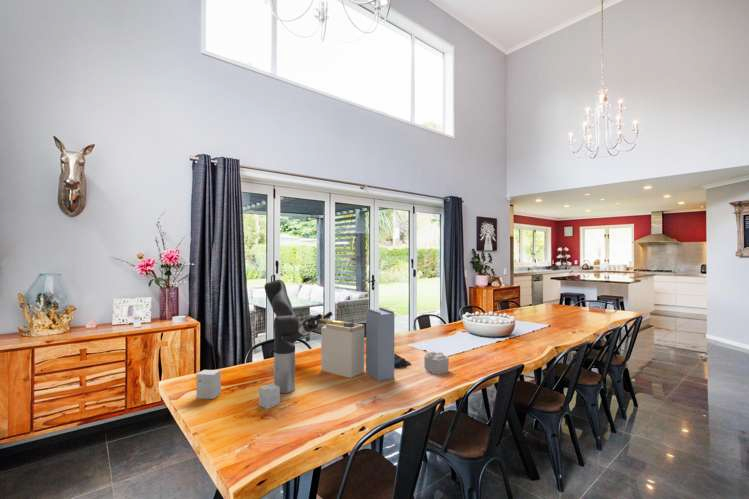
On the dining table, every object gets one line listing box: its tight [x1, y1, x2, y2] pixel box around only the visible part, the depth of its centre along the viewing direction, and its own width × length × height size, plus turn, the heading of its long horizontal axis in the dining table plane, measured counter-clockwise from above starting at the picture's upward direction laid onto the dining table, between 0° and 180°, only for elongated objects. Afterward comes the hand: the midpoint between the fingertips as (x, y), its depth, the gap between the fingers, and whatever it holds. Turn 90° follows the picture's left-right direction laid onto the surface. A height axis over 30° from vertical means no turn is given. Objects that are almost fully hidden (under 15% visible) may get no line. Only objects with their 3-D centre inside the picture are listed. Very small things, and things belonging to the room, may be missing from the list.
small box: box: [195, 369, 222, 400], centre depth 151 cm, size 8×6×10 cm
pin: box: [318, 319, 355, 328], centre depth 187 cm, size 22×5×3 cm, turn 56°
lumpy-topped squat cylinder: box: [423, 351, 450, 374], centre depth 187 cm, size 10×13×9 cm
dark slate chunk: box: [394, 353, 412, 369], centre depth 200 cm, size 15×22×5 cm
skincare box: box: [258, 383, 281, 410], centre depth 143 cm, size 6×6×7 cm
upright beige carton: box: [320, 320, 365, 379], centre depth 184 cm, size 20×11×24 cm, turn 56°
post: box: [365, 307, 395, 382], centre depth 178 cm, size 14×9×33 cm, turn 26°
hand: (326, 314), depth 190 cm, fingers open, 8 cm apart
